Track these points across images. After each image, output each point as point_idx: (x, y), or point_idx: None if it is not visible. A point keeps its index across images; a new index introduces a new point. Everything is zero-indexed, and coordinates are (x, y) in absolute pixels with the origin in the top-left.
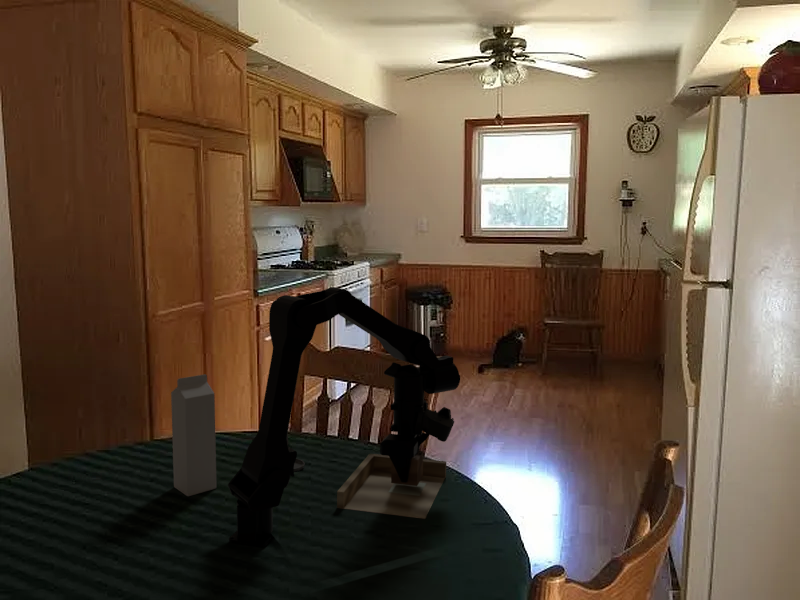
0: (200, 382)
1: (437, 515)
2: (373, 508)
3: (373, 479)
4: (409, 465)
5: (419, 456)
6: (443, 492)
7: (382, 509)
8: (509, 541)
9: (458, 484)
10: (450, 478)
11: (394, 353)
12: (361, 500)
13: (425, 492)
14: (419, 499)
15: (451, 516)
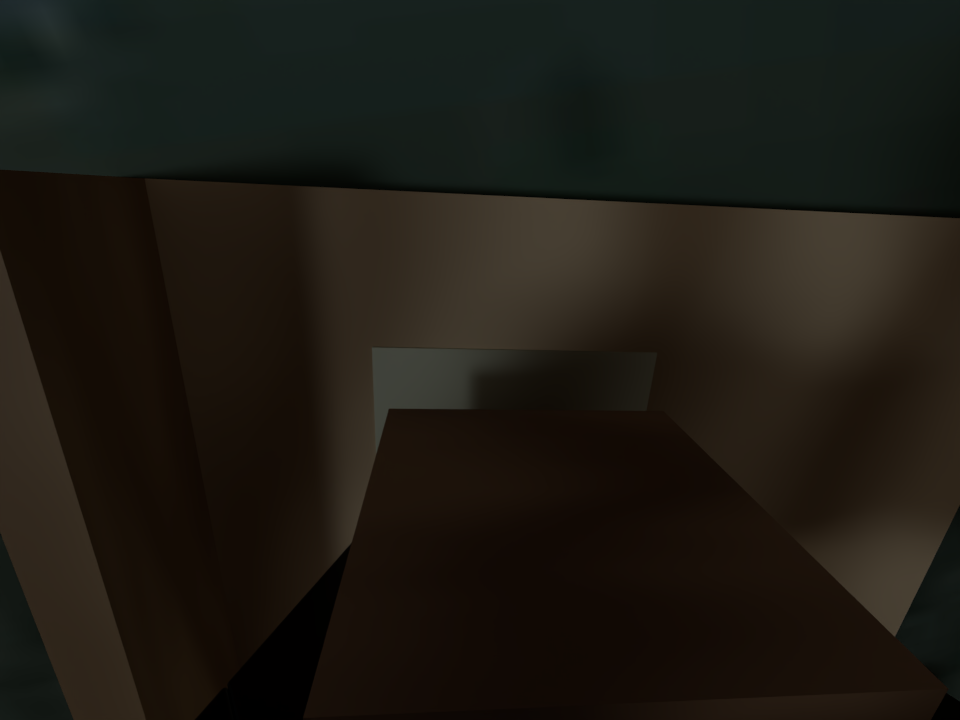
0: None
1: (898, 144)
2: (874, 583)
3: None
4: (957, 703)
5: (691, 709)
6: (415, 160)
7: (896, 536)
8: None
9: (147, 11)
10: (22, 133)
11: None
12: None
13: (578, 315)
14: (732, 337)
15: (931, 3)
